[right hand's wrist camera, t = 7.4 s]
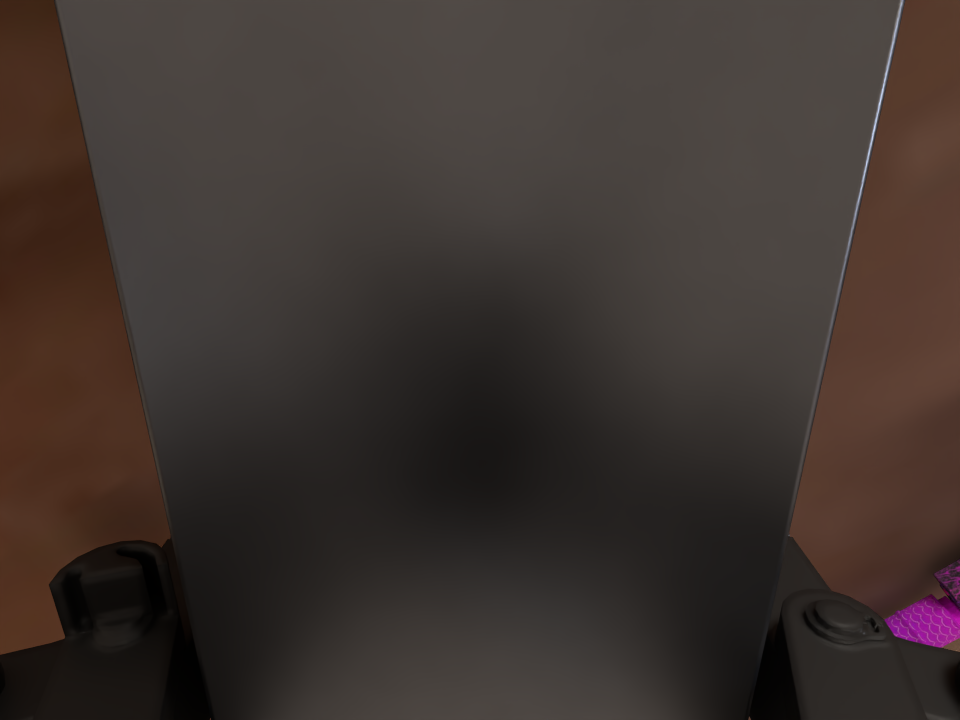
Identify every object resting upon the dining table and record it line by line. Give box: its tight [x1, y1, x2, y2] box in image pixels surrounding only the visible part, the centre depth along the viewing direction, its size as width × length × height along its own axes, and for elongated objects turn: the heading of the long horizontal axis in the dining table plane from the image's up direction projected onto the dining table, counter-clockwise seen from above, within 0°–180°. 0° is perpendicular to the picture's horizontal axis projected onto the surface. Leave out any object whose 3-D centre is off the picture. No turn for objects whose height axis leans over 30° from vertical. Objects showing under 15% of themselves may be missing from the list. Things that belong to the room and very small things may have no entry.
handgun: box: [749, 559, 960, 717], centre depth 26 cm, size 21×8×2 cm, turn 131°
